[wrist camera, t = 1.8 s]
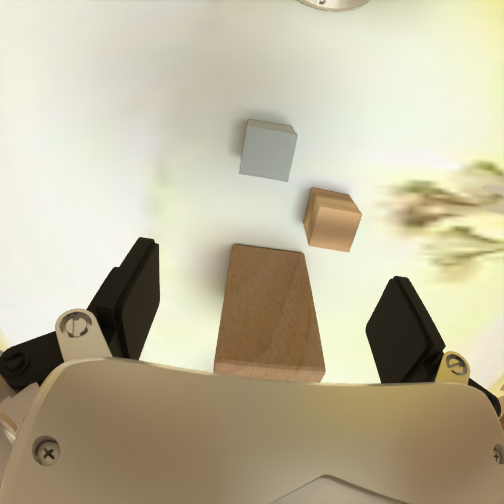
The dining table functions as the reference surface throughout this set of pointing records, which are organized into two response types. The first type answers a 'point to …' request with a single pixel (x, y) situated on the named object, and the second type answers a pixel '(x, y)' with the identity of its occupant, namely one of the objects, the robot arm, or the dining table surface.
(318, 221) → the oak block
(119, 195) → the dining table surface
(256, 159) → the slate block
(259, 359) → the wooden block
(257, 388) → the robot arm
